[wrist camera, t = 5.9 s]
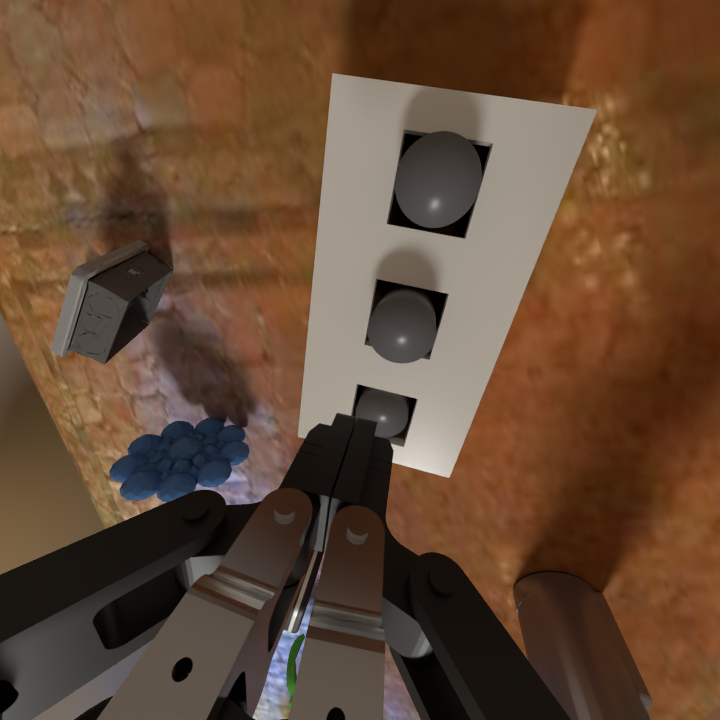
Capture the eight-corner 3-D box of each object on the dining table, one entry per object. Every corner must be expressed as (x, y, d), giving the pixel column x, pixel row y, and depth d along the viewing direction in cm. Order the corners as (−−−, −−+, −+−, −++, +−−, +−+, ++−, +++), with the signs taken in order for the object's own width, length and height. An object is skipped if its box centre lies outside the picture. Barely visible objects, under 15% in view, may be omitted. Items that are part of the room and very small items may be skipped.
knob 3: (479, 156, 19) (494, 138, 15) (458, 231, 21) (466, 234, 17) (410, 145, 20) (405, 124, 15) (395, 219, 22) (387, 220, 17)
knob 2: (415, 372, 29) (413, 400, 25) (405, 410, 31) (401, 442, 27) (370, 361, 30) (360, 387, 25) (362, 400, 32) (352, 429, 27)
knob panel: (554, 137, 21) (597, 109, 16) (445, 435, 32) (449, 477, 27) (355, 107, 23) (332, 73, 17) (318, 402, 34) (297, 436, 29)
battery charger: (309, 501, 41) (269, 595, 31) (336, 511, 41) (305, 610, 30) (300, 534, 44) (261, 629, 34) (325, 543, 44) (294, 642, 34)
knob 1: (441, 289, 23) (444, 306, 19) (426, 343, 25) (426, 370, 21) (384, 277, 24) (374, 291, 19) (373, 331, 26) (362, 355, 21)
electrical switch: (144, 236, 30) (48, 252, 22) (192, 271, 31) (117, 298, 23) (118, 307, 34) (29, 342, 26) (161, 335, 35) (88, 378, 27)
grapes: (180, 437, 41) (92, 515, 30) (175, 394, 38) (74, 464, 27) (263, 460, 39) (202, 550, 29) (264, 417, 36) (196, 500, 26)
